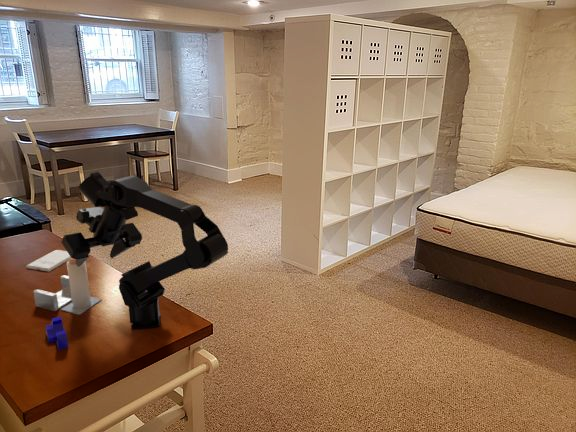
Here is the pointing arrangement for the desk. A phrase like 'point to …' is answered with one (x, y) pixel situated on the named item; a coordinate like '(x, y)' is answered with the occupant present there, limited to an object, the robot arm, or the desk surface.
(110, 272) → the desk surface
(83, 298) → the white upright post
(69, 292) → the bracket
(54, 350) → the desk surface
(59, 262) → the external hard drive
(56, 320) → the cable holder
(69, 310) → the pad
